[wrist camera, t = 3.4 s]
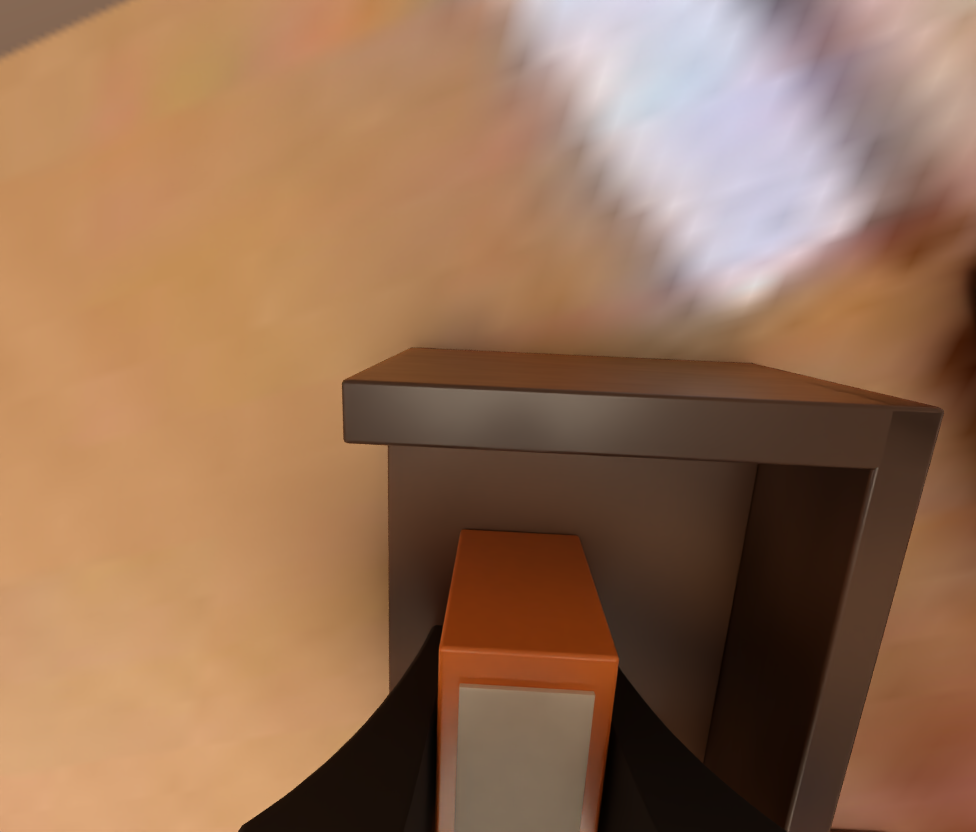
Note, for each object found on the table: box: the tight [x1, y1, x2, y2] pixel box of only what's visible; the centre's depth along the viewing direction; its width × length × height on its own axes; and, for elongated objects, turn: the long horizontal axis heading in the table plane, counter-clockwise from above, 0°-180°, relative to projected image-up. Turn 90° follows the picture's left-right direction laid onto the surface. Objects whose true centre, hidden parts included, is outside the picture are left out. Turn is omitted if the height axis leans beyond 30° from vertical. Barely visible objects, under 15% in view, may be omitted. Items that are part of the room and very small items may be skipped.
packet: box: [435, 529, 619, 832], centre depth 11 cm, size 7×3×5 cm, turn 177°
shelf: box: [342, 348, 944, 832], centre depth 13 cm, size 15×11×6 cm
